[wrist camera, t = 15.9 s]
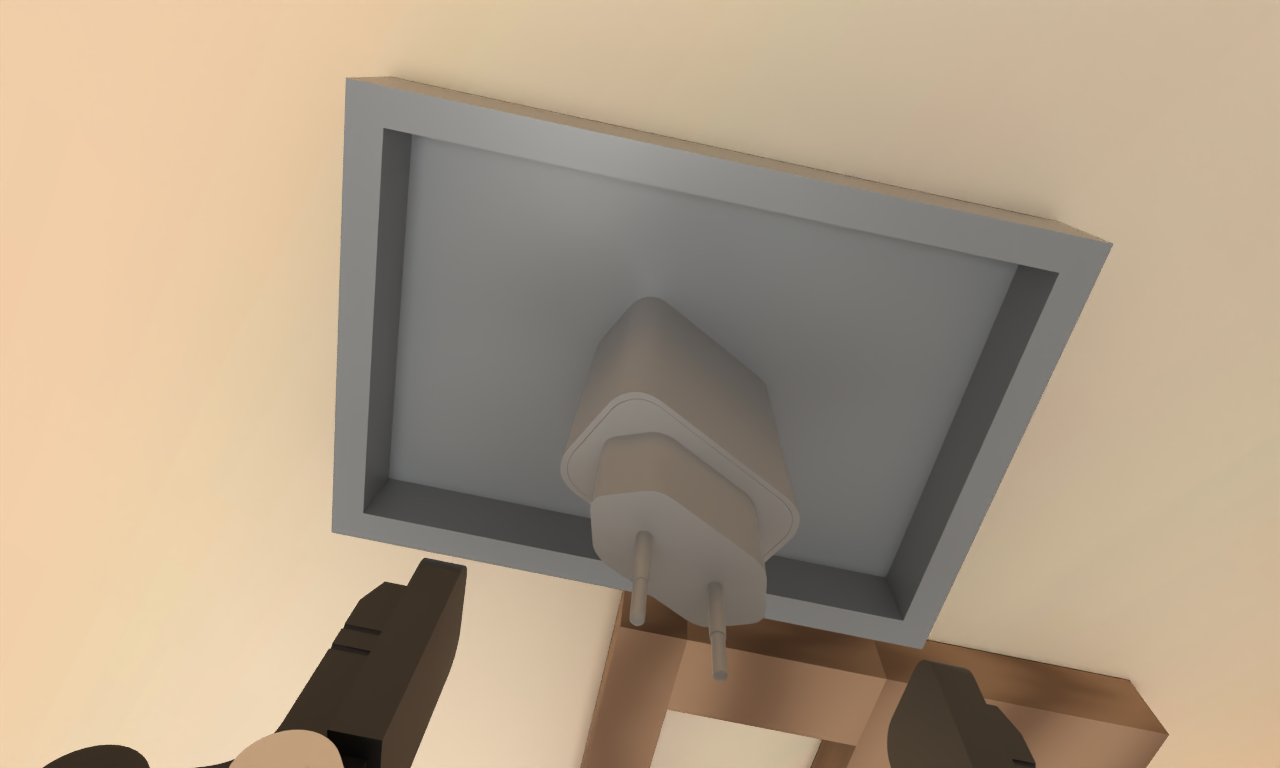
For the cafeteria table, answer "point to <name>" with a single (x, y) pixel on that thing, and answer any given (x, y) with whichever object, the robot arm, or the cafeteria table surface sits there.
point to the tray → (715, 303)
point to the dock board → (845, 693)
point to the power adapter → (681, 472)
